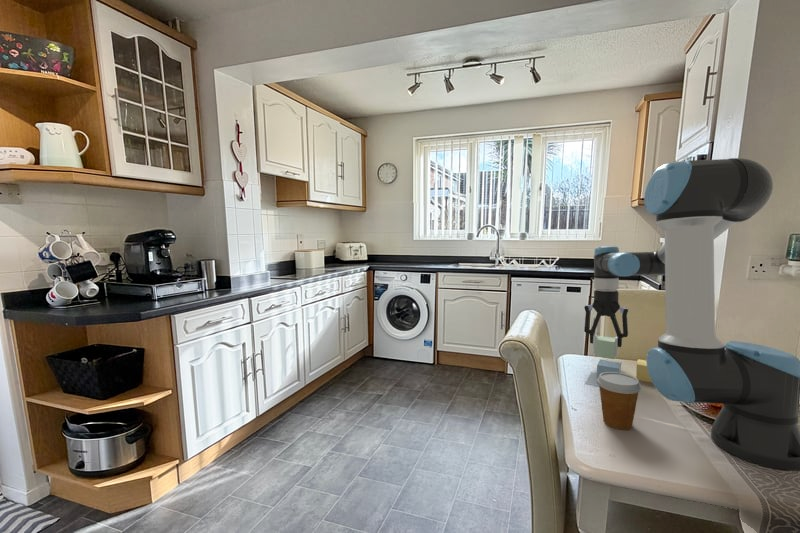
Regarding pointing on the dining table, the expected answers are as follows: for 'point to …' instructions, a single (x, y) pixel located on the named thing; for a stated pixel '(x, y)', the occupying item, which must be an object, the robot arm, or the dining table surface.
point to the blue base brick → (608, 367)
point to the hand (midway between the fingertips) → (605, 353)
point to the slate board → (592, 379)
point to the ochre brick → (642, 371)
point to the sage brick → (605, 347)
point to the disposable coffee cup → (618, 398)
